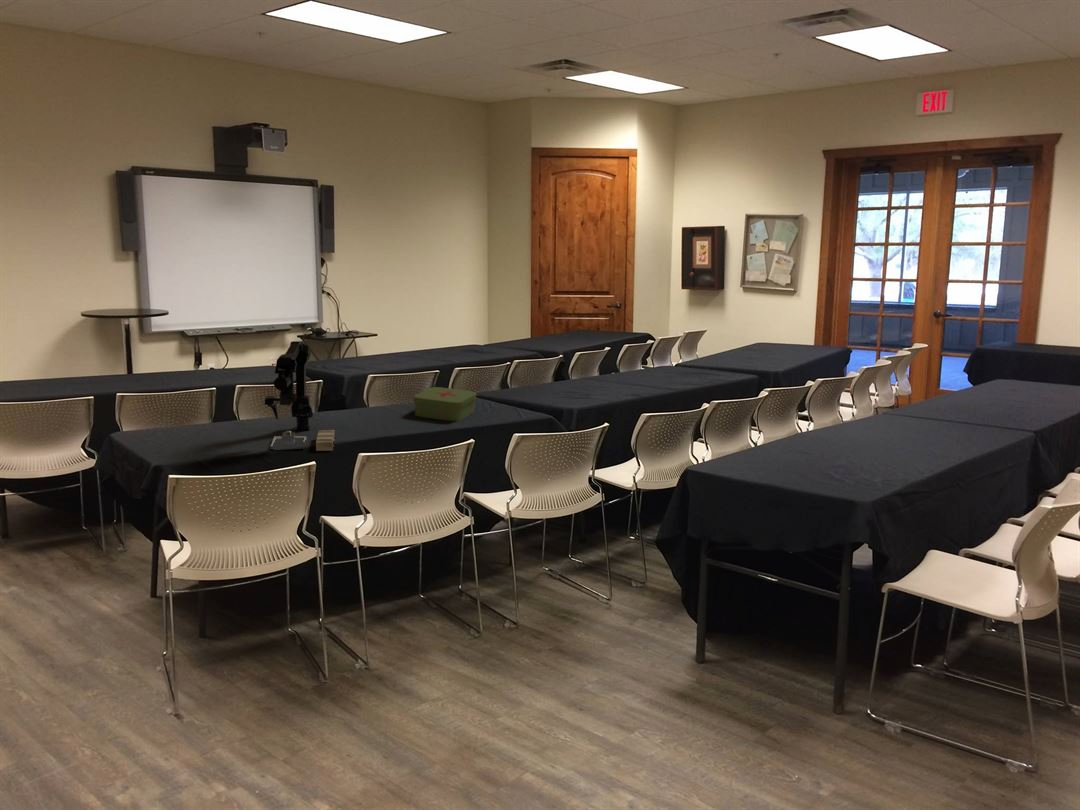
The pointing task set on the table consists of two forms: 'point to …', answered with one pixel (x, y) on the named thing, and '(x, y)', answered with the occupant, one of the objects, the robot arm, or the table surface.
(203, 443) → the table surface
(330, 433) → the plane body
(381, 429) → the table surface
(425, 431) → the table surface
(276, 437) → the parts tray
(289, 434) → the dark grey block
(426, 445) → the table surface
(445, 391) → the first aid kit
